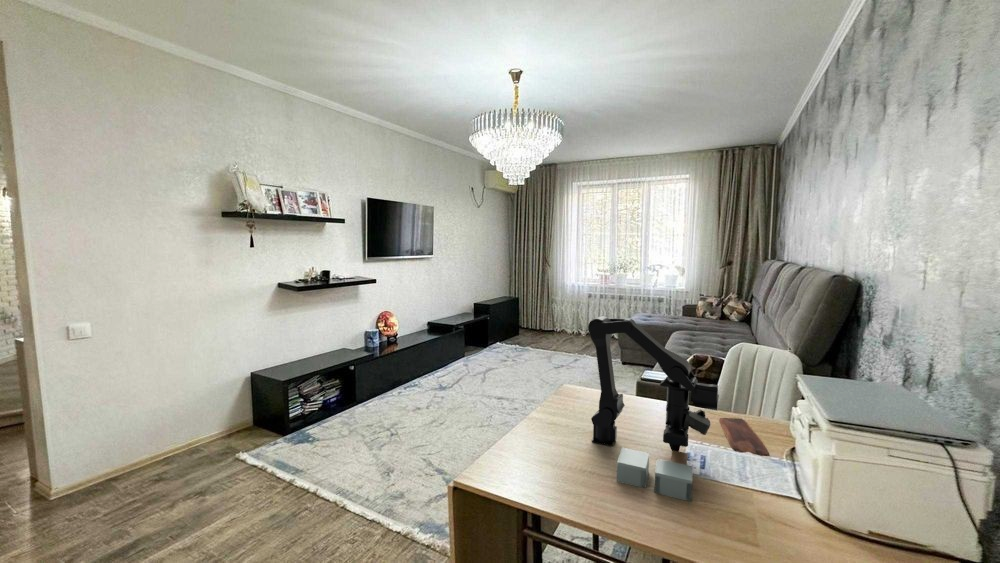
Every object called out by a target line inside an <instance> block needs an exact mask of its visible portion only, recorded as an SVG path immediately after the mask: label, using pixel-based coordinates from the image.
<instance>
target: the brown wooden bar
mask: <svg viewBox="0 0 1000 563" xmlns="http://www.w3.org/2000/svg"><path fill="white" fill-rule="evenodd" d="M688 454H689V453H688V452H683V451H680V450H679V451H674V450H671V458H670V462H675V463H680V464H685V465H688Z"/></svg>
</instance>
